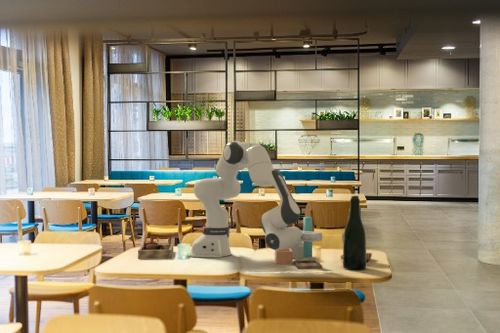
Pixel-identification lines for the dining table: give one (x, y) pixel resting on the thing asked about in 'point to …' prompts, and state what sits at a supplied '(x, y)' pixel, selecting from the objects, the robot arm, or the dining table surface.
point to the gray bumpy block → (298, 251)
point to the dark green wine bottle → (354, 239)
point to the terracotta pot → (284, 256)
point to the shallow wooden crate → (156, 252)
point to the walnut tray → (307, 264)
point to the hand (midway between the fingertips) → (308, 233)
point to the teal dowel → (307, 245)
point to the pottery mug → (152, 246)
